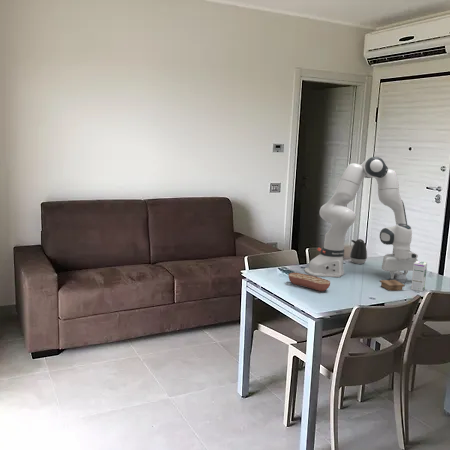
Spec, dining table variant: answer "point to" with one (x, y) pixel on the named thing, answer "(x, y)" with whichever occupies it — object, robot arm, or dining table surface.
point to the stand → (391, 285)
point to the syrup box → (419, 276)
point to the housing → (399, 277)
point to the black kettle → (358, 252)
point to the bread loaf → (309, 281)
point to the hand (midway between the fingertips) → (398, 278)
